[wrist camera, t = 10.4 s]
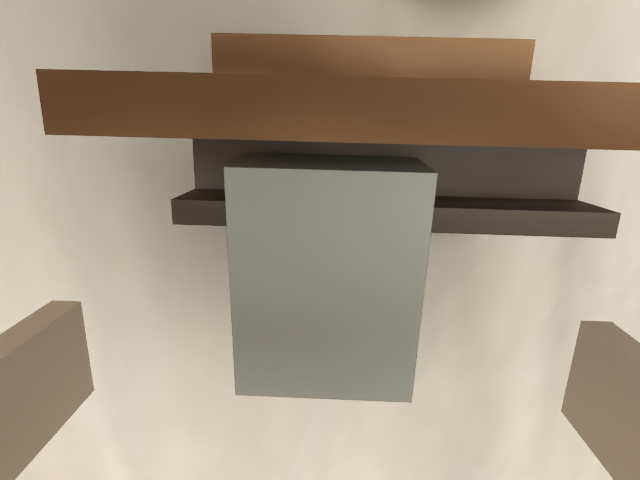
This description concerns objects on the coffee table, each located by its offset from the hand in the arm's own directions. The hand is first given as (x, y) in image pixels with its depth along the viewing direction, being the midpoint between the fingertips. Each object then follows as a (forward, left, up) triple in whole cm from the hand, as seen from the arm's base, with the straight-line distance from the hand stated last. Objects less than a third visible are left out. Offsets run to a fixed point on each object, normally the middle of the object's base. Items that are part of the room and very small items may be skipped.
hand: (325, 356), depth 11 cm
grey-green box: (0, 0, -11) cm, 11 cm away
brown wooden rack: (-6, +2, -16) cm, 18 cm away
